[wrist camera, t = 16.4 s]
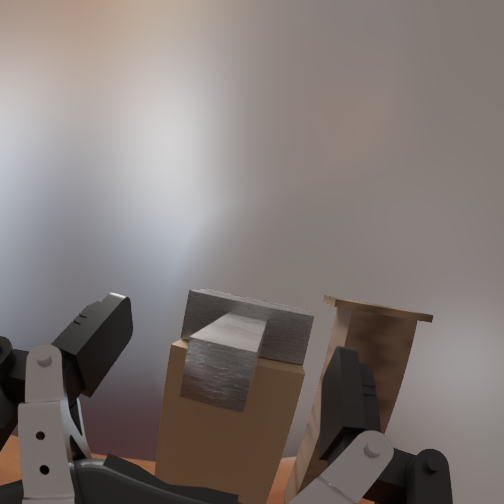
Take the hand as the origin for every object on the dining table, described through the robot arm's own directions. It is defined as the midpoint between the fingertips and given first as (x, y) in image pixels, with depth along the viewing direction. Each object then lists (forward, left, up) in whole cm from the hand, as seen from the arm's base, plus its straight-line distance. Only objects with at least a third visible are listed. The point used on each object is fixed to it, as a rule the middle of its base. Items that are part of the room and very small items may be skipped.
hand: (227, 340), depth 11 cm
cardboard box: (0, +17, -30) cm, 34 cm away
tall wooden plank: (+14, +25, -30) cm, 42 cm away
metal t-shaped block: (0, +10, -4) cm, 10 cm away
